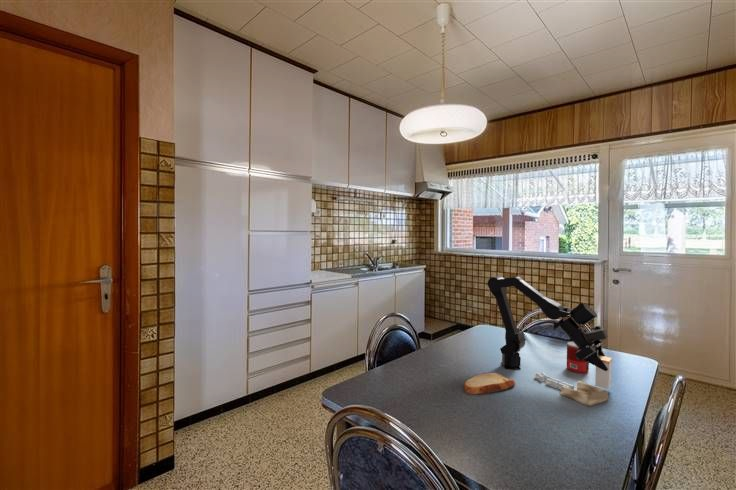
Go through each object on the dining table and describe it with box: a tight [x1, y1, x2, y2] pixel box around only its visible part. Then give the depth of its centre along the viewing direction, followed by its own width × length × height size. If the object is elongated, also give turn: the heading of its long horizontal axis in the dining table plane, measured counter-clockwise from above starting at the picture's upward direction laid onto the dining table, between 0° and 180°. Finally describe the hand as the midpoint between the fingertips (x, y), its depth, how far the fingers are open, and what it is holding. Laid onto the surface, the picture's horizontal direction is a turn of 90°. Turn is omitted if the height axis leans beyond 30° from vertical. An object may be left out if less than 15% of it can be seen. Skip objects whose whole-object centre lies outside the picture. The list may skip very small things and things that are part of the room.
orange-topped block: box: [594, 355, 613, 390], centre depth 126 cm, size 4×5×10 cm
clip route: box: [534, 371, 575, 391], centre depth 131 cm, size 6×14×2 cm, turn 21°
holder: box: [559, 380, 609, 408], centre depth 121 cm, size 10×10×3 cm
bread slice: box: [463, 372, 516, 395], centre depth 129 cm, size 18×18×4 cm
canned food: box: [566, 341, 590, 374], centre depth 145 cm, size 8×8×11 cm
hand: (608, 368), depth 125 cm, fingers closed on orange-topped block, 5 cm apart
